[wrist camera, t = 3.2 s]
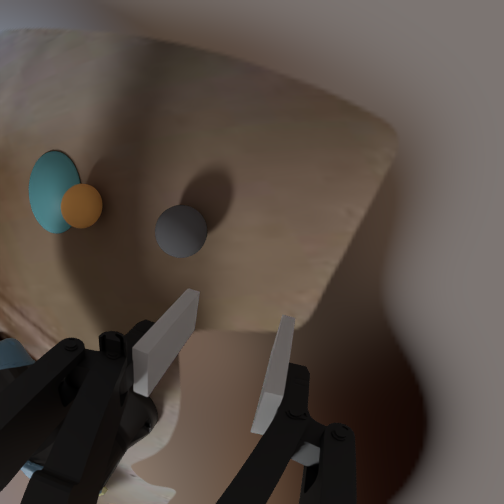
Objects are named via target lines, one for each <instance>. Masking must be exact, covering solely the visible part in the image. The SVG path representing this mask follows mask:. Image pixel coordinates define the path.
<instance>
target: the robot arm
mask: <svg viewBox="0 0 504 504" xmlns="http://www.w3.org/2000/svg"><path fill="white" fill-rule="evenodd" d="M199 295H200V292H199V291H196V290H193V289H189V288H188V289H187V290H186V291H185V292H184V293H183V294H182V295H181V296H180V297H179V298H178V299H177V300H176V301H175V302H174V304H173V305H172V306H171V307H170V308H169V309H168V310H167V311H166V312H165V313H164V314H163V315H162V316H161V317H160V318H159V319H158V321H157V322H156V323H154V322H151V321H149V320H144V321H141V322H139V323H137V324H136V325H135V326H134V327H133V329H131V330H130V331H129V333H127V334H126V335H125V336H124V335H123V334H122V333H119V332H115V331H108V332H104V333H102V334H101V335H100V336H99V347H100V351H94V350H89V349H85V347H84V344H83V342H82V341H81V340H79V339H77V338H66V339H63V340H62V341H60V342H59V343H58V344H57V345H55V346H54V347H53V348H52V349H50V350H49V351H48V352H47V353H46V354H44V355H43V356H42V357H41V358H40V359H39V360H37V361H36V362H35V361H34V360H32V358H31V357H30V356H29V354H28V353H27V351H26V350H25V349H24V347H23V346H22V344H21V343H20V342H19V341H18V340H16V339H14V338H7V339H5V340H2V341H0V491H2V490H3V488H4V487H6V485H7V484H8V483H9V482H10V481H11V480H12V478H13V477H14V476H15V475H16V474H17V473H18V471H19V470H20V469H21V470H22V471H23V472H24V474H25V475H26V476H28V477H29V478H30V481H29V483H28V485H27V488H26V490H25V493H24V496H23V498H22V501H21V504H97V500H98V496H99V494H100V493H101V492H102V489H103V487H104V486H105V484H106V483H107V481H108V479H109V478H110V476H111V475H112V473H113V471H114V470H115V468H116V467H117V465H118V463H119V462H120V460H121V459H122V457H123V455H124V454H125V452H126V451H127V450H128V448H130V447H131V446H133V445H134V444H136V443H137V442H138V441H140V440H141V439H143V438H144V437H146V436H147V435H148V434H149V433H150V432H151V431H152V429H153V428H154V426H155V424H156V423H157V419H158V416H157V411H156V408H155V406H154V404H153V402H152V400H151V399H150V397H149V395H150V394H151V392H152V391H153V389H154V388H155V386H156V385H157V383H158V382H159V380H160V379H161V378H162V376H163V375H164V373H165V372H166V370H167V369H168V367H169V366H170V365H171V363H172V362H173V360H174V359H175V357H176V356H177V354H178V353H179V352H180V350H181V349H182V347H183V346H184V344H185V343H186V341H187V340H188V339H189V337H190V336H191V334H192V333H193V331H194V330H195V323H196V316H197V309H198V302H199ZM294 324H295V318H294V317H290V316H286V315H282V318H281V321H280V325H279V328H278V332H277V335H276V339H275V342H274V345H273V349H272V352H271V356H270V360H269V364H268V368H267V372H266V376H265V380H264V383H263V387H262V391H261V395H260V399H259V403H258V406H257V410H256V414H255V418H254V421H253V425H252V429H251V432H253V433H257V434H261V435H263V436H262V438H261V439H260V441H259V442H258V444H257V446H256V447H255V449H254V450H253V452H252V453H251V455H250V456H249V458H248V459H247V460H246V462H245V463H244V465H243V466H242V468H241V469H240V471H239V472H238V474H237V475H236V476H235V478H234V479H233V481H232V482H231V484H230V485H229V486H228V488H227V489H226V490H225V492H224V493H223V494H222V496H221V497H220V499H219V500H218V501H217V503H216V504H266V502H267V500H268V499H269V497H270V495H271V494H272V492H273V490H274V488H275V487H276V485H277V483H278V481H279V479H280V478H281V476H282V474H283V472H284V470H285V468H286V466H287V464H288V462H289V460H290V459H293V460H295V461H297V462H299V463H301V464H303V465H304V470H303V478H302V485H301V493H300V500H299V504H356V453H355V436H354V432H353V431H352V430H351V428H349V427H348V426H346V425H344V424H341V423H332V424H329V425H328V426H324V425H322V424H320V423H318V422H316V421H315V420H314V419H312V418H311V416H310V414H309V412H308V408H307V407H308V394H309V379H310V373H309V371H308V369H307V367H305V366H301V365H297V364H293V363H289V358H290V352H291V345H292V338H293V331H294Z"/></svg>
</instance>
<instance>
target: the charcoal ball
mask: <svg viewBox="0 0 504 504" xmlns="http://www.w3.org/2000/svg"><path fill="white" fill-rule="evenodd" d="M155 236H156V240H157V242H158V244H159V246H160V248H161V249H162V250H163V251H164V252H165V253H167V254H169V255H171V256H173V257H178V258H184V257H189V256H191V255H193V254H195V253H196V252H198V251H199V250H200V249H201V248H202V246H203V245H204V243H205V240H206V237H207V225H206V222H205V220H204V218H203V216H202V215H201V214H200V213H199V212H198V211H197V210H196V209H194V208H192V207H190V206H186V205H177V206H173V207H171V208H169V209H167V210H165V211H164V212H163V213H162V214H161V216H160V217H159V219H158V221H157V223H156V227H155Z"/></svg>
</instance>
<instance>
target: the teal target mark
mask: <svg viewBox="0 0 504 504" xmlns="http://www.w3.org/2000/svg"><path fill="white" fill-rule="evenodd" d="M77 184H80V179H79V175H78V172H77V170H76V168H75V166H74V164H73V162H72V161H71V160H70V159H69V158H68V157H67V156H66V155H65V154H63V153H61V152H57V151H51V152H48V153H45V154H44V155H42V156H41V157H40V158H39V159H38V161H37V162H36V164H35V166H34V168H33V170H32V173H31V176H30V182H29V199H30V204H31V208H32V211H33V213H34V216H35V217H36V219H37V221H38V222H39V224H40V225H41V226H42V227H43V228H44V229H46V230H47V231H49V232H51V233H62V232H65V231H67V230H68V229H69V228H70V227H71V225H69V224H68V223H67V222H66V221H65V219H64V218H63V216H62V213H61V201H62V198H63V196H64V194H65V193H66V191H67V190H68V189H69V188H71V187H72V186H74V185H77Z"/></svg>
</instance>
